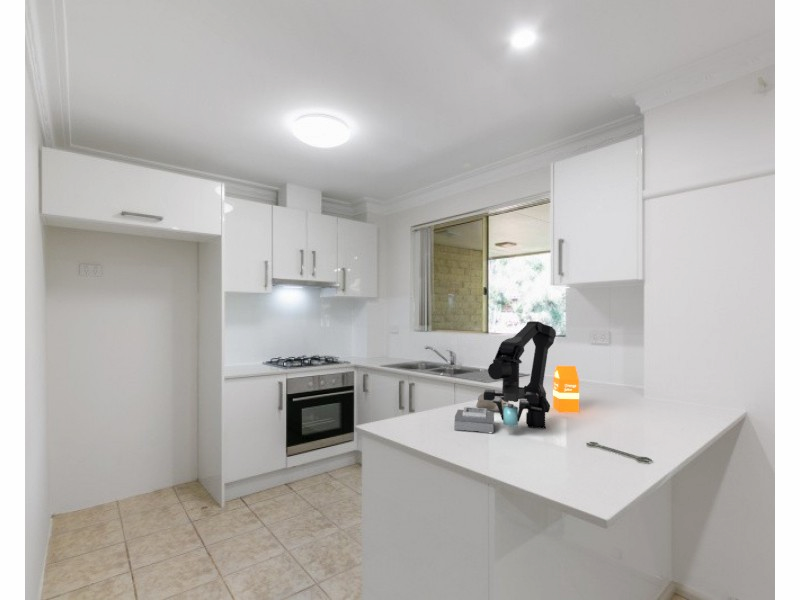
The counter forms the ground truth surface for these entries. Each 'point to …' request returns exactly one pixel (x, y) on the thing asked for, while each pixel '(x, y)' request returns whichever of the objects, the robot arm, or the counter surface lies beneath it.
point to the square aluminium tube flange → (474, 420)
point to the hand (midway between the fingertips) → (510, 420)
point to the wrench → (620, 453)
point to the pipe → (490, 404)
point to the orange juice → (566, 389)
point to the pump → (510, 415)
